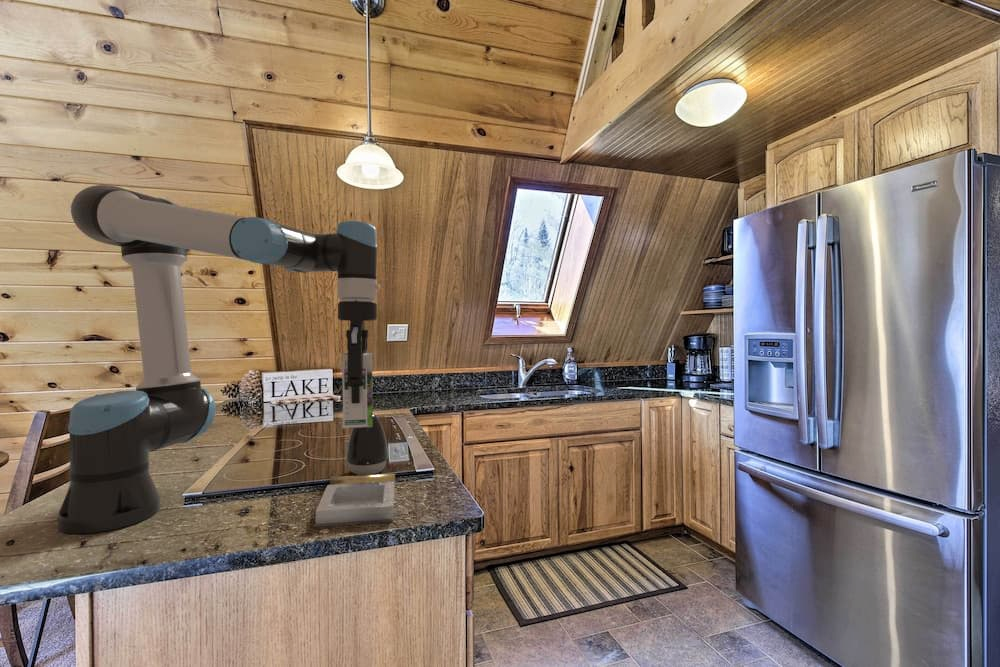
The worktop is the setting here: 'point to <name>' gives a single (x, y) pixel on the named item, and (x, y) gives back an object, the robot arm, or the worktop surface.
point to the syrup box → (366, 393)
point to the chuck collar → (356, 504)
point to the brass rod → (363, 479)
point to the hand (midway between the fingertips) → (357, 415)
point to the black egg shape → (367, 449)
